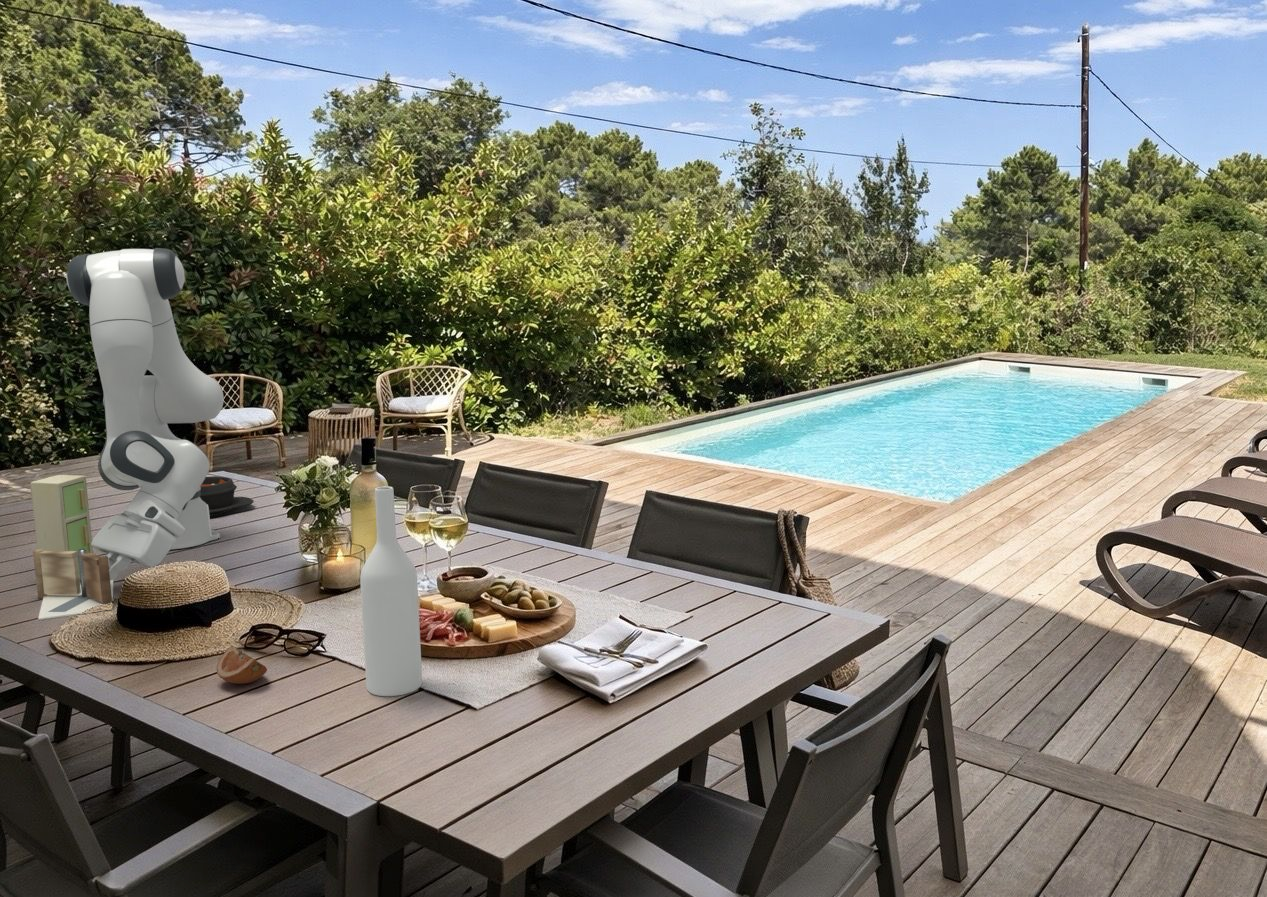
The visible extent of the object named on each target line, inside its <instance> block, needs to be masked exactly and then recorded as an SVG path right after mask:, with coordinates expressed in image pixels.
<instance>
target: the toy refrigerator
mask: <svg viewBox="0 0 1267 897" xmlns="http://www.w3.org/2000/svg"><path fill="white" fill-rule="evenodd" d="M29 487H30V493H31V494H30V495H31V503H32V514H33V520H34V523H33V524H34V529H35V530H34V531H35V532H34V533H35V538H36V539H35V541H36V549H42V551H77V550H79V549H87V553H93V554H94V548H93V547H92V546H91V543H92V540H93V538H92V526H91V517H90V504H89V494H88V485H87V477H86V476H85V475H77V474H75V475H72V474H57V475H52V476H48V477H45V478H42V479H38V480H34V481H31V482H30V486H29ZM77 559H78V556H77ZM78 569H79V561H78ZM79 579H80V571H79Z"/></svg>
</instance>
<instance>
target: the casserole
mask: <svg viewBox="0 0 1267 897" xmlns="http://www.w3.org/2000/svg"><path fill="white" fill-rule="evenodd" d="M200 487H201V490H200V492H201V495H200V498H201V500H202V501H204V502H205V503H206V504H208V507H209V515H213V516H217V515H216V514H218V515H221V514H224V513H227V512H229V511H230V510H233V509H237V508H242V507H246V506H250V505H252V504H253V503H254V499H252V498H250V497H247V496H235V490H236V489H238V488H237V485H236V484H235V483H234V481H233V479H232V478H230V477H225V476H206V477H205V479H204V481H203V483H202V484H201V486H200ZM229 509H230V510H229ZM226 511H227V512H226ZM220 513H221V514H220Z"/></svg>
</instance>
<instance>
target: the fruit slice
mask: <svg viewBox="0 0 1267 897" xmlns="http://www.w3.org/2000/svg"><path fill="white" fill-rule="evenodd" d="M216 665H217V666H216V674H217V675H218V677H219V678H221V679H222V680H223V681H225V682H228V683H230V684H238V685H245V684H246V685H247V684H251V683H253V682H255V681H257V680H259V679H260V678H261V677H263V676H264V675H265V674H266V673H267V671H268V668H267V667H266V666H265V665H264V664H262V663H260V662H259V661H258V660H257V659H254V658H253V657H252V656H250V655H249V654H246V653H244V652H243V650H241V649H239V648H238V647H236V646H234V645H232V644H231V645H230V646H229V647H228V648H227V650H226V651H224V653H223V654H222V656H220V659H219V661H218V662H217V664H216Z"/></svg>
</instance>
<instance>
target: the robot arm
mask: <svg viewBox="0 0 1267 897" xmlns="http://www.w3.org/2000/svg"><path fill="white" fill-rule="evenodd" d="M65 277H66V278H65V279H66V283H67V284H66V285H67V287H68V290H69V291H70V293H71V295H72V298H73V299H74V300H76V301H77V302H78V303H80V304H81V305H84V306H87V307H89V327H90V329H89V330H90V337H91V344H92V348H93V349H92V350H93V352H94V356H95V360H96V364H97V368H98V373H99V377H100V383H101V387H102V391H103V398H102V400H103V402H102V403H103V406H104V419H105V435H106V436H105V443H104V445H103V448H102V450H101V452H100V455H99V458H98V462H97V469H98V473H99V475H100V477H101V479H102V480H103V481H104V482H105V484H107V485H109V487H111V488H114V489H116V490H120V491H133V490H137V489H138V488H139V491H138V492H137V493H136V494H135V496H133V498H132V500H131V501H130V502H129V504H128V505H127V506H126V508H125V509H124V511H123V512H122V513H120V514H117V515H113V516H112V517H111V518H110V519H108V521H107V522H106V523H105V524H104V525H103V526H102V527H100V529H99V531H98V532H96V534H95V535H94V537H93V538H92V543H91V546H92V547H93V549H95V550H96V551H98V552H100V553H102V554H103V555H105V556H108V564H109V574H110V580H113V581H115V579H116V578H117V577H118V576H119V574H120V573H122V572H123V571H124V570H126V569H127V568H129V566H130V565H131V563H135V564H138V565H142V566H145V567H148V568H149V567H150V568H155V567H157V565H159V564H161V562H162V561H163V559H164V558H165V557H166V556H167V555H168V553H169V552H170V550H179V549H187V548H191V547H196V546H201V545H203V544H207V543H208V542H210V541H211V542H212V541H215V540H219V539H221V534H220V533H219V532H218V531H216V530H215V529H212V526H211V518H210V517H211V516H209V507H208V504H206V503H205V502H204V501H202V500H201V498H200V495H201V492H200V490H201V487H200V486H201V484H202V483H203V481H204V479H205V477H208V476H207V475H208V474H209V471H210V466H211V463H210V459H209V458H208V455H207V454H206V453H205V452H204V450H203V449H201V448H200V447H199V446H198V445H197V444H196V443H194V442H192V441H190V440H188V439H181V438H179V437H177V436H175V434H174V433H173V432H172V431H171V429H170V428H169V425H168V424H194V423H199V422H206V421H209V420H213V419H216V418H217V417H218V416H219V414H220V412H221V411H222V409H223V405H224V401H225V400H224V392H223V389H222V386H221V385H220V384H219V382H218V381H217V380H216V379H214V378H213V377H211V376H209V375H208V374H206V373H204V371H201V370H200V369H199V368H198V367H197V366H196V365H194V364H195V363H193V362H192V361H191V360H190V359H189V358H188V356H187V355H186V353H185V352H184V349H183V348H182V345H181V342H180V339H179V335H178V333H177V328H176V325H175V320H174V315H173V313H172V308H171V305H170V301H169V300H170V299H172V298H175V297H177V296H179V295H180V293H181V292H182V291H183V289H184V283H185V278H186V276H185V270H184V267H183V263H182V261H181V260H180V258H179V256H178V255H177V253H175V252H174V251H172V249H168V248H163V247H162V248H161V247H155V248H154V249H151V248H124V249H120V250H110V251H104V252H98V253H94V254H90V253H84V254H79V255H77V256H75V257H72V259H71V260H70V261H69V262H68V264H67V268H66V276H65ZM147 371H149V372H150V373H151V374H152V375H151V374H150V375H145V374H146V373H147ZM218 538H219V539H218Z"/></svg>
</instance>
